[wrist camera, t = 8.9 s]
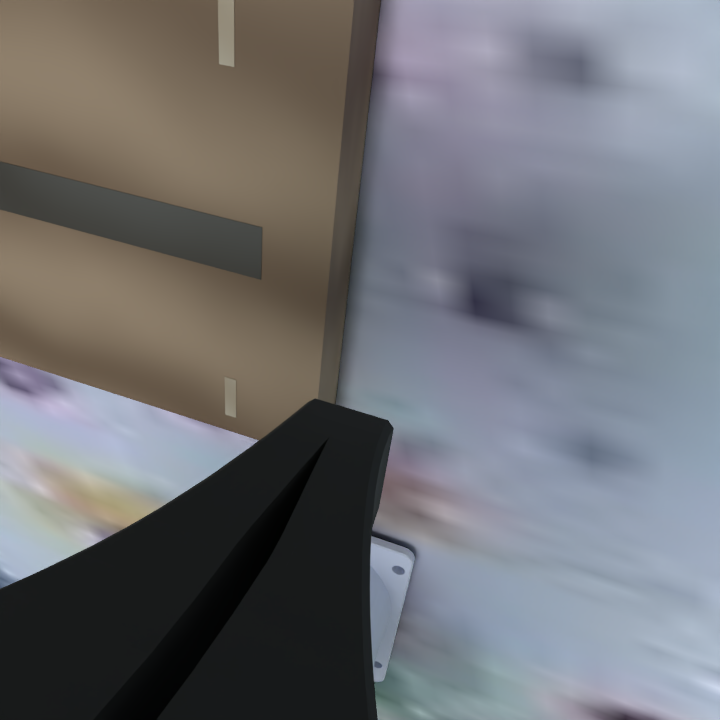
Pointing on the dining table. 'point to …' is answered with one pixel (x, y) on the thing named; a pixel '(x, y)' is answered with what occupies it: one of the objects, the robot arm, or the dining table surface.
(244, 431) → the console board
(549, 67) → the dining table surface
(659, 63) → the dining table surface
